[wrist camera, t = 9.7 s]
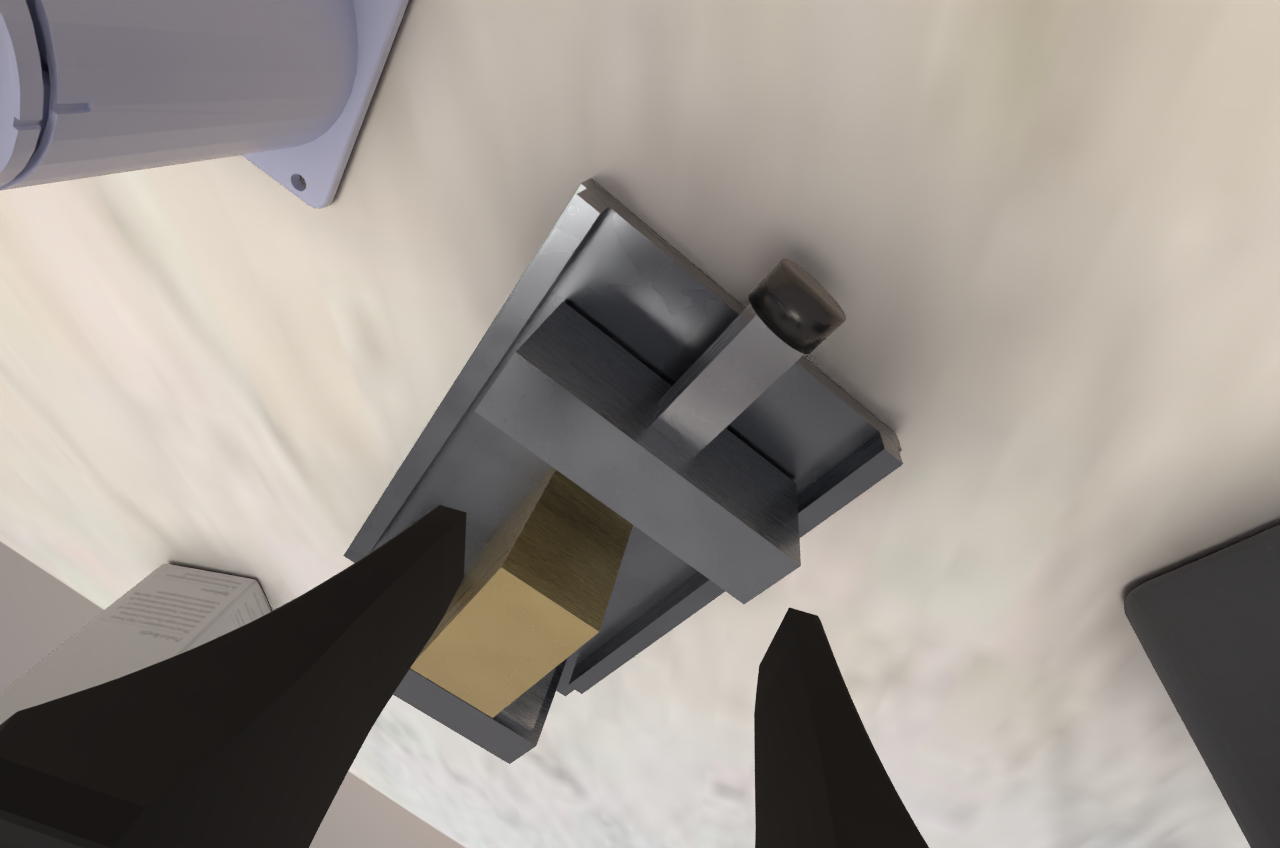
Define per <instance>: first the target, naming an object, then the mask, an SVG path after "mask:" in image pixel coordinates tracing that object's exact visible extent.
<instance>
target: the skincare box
mask: <svg viewBox="0 0 1280 848" xmlns="http://www.w3.org/2000/svg"><path fill="white" fill-rule="evenodd" d="M270 612H272V611H271V608H270V606H269V604H268V601H267V599H266V597H265V595H264V593H263V591H262V589H261V587H260V585H259V583H258V582H257V581H256V580H254V579H250V578H244V577H239V576H233V575H228V574H222V573H216V572H211V571H205V570H200V569H194V568H188V567H183V566H177V565H171V564H163V565H161V566H160V567H159V568H157V569H156V570H155V571H153V572H152V573H151V574H150V575H149V576H147V577H146V578H145V579H143V580H142V581H141V582H139V583H138V584H137V585H136V586H135V587H133V588H132V589H131V590H129V591H128V592H127V593H126V594H124V595H123V596H122V597H121V598H119V599H118V600H117V601H115V602H114V603H113V604H112V605H110V606H109V607H108V608H107V609H105V610H104V611H103V612H102V613H100V614H99V615H98V616H97V617H95V618H94V619H93V620H92V621H90V622H89V623H88V624H87V625H85V626H84V627H83V628H82V629H80V630H79V631H78V632H76V633H75V634H74V635H73V636H71V637H70V638H69V639H68V640H66V641H65V642H64V643H63V644H61V645H60V646H59V647H58V648H56V649H55V650H54V651H52V652H51V653H50V654H48V655H47V656H46V657H45V658H43V659H42V660H41V661H40V662H39V663H37V664H36V665H35V666H33V667H32V668H31V669H30V670H28V671H27V672H26V673H25V674H24V675H22V676H21V677H20V678H18V679H17V680H16V681H14V682H13V683H12V684H11V685H9V686H8V687H7V688H6V689H4V690H3V691H2V692H0V725H1V724H2V723H3V722H4V721H6V720H7V719H8V718H9V717H11V716H12V715H13V714H15V713H16V712H17V711H20V710H24V709H27V708H30V707H33V706H37V705H40V704H43V703H46V702H49V701H52V700H55V699H58V698H61V697H64V696H67V695H70V694H73V693H76V692H79V691H82V690H85V689H88V688H91V687H94V686H98V685H100V684H103V683H106V682H109V681H112V680H114V679H117V678H120V677H123V676H125V675H128V674H131V673H133V672H136V671H138V670H141V669H143V668H146V667H148V666H151V665H153V664H156V663H158V662H161V661H164V660H166V659H169V658H171V657H174V656H176V655H179V654H181V653H184V652H186V651H189V650H191V649H193V648H196V647H198V646H200V645H202V644H205V643H207V642H209V641H211V640H214V639H216V638H218V637H220V636H222V635H224V634H226V633H229V632H231V631H233V630H235V629H237V628H239V627H241V626H244V625H246V624H248V623H250V622H252V621H254V620H256V619H258V618H260V617H262V616H264V615H266V614H268V613H270Z"/></svg>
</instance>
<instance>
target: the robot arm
mask: <svg viewBox="0 0 1280 848" xmlns="http://www.w3.org/2000/svg"><path fill="white" fill-rule="evenodd" d="M408 2H409V0H0V190H6V189H13V188H19V187H26V186H33V185H40V184H47V183H53V182H60V181H67V180H74V179H81V178H87V177H94V176H101V175H108V174H115V173H121V172H128V171H135V170H142V169H149V168H155V167H162V166H169V165H176V164H183V163H189V162H196V161H203V160H210V159H217V158H223V157H230V156H237V155H242V156H244V157H245V158H246V159H248V160H249V161H250V162H252V163H253V164H254V165H256V166H257V167H258V168H260V169H261V170H262V171H264V172H265V173H266V174H268V175H269V176H270V177H272V178H273V179H274V180H276V181H277V182H278V183H280V184H281V185H282V186H284V187H285V188H286V189H288V190H289V191H290V192H292V193H293V194H294V195H296V196H297V197H298V198H300V199H301V200H303V201H304V202H305V203H307V204H308V205H309V206H311V207H313V208H319V209H320V208H323V207H326V206H329V205H330V204H331V203H332V201H333V199H334V196H335V194H336V191H337V188H338V186H339V183H340V180H341V178H342V175H343V173H344V170H345V167H346V165H347V162H348V159H349V157H350V154H351V152H352V149H353V146H354V144H355V141H356V138H357V136H358V133H359V131H360V128H361V125H362V123H363V120H364V117H365V115H366V112H367V110H368V107H369V104H370V102H371V99H372V96H373V94H374V91H375V89H376V86H377V83H378V81H379V78H380V75H381V73H382V70H383V68H384V65H385V62H386V60H387V57H388V54H389V52H390V49H391V47H392V44H393V41H394V39H395V36H396V33H397V31H398V28H399V26H400V23H401V20H402V18H403V15H404V12H405V10H406V7H407V4H408ZM300 175H301V176H302V177H303V178H304V180H305V182H306V188H305V187H304V186H303V185H302V184H301V182H300V179H299V177H300ZM466 514H467V513H466V512H463V511H459V510H456V509H453V508H449V507H446V506H442V505H439V506H437V507H435V508H434V509H433V510H431V511H430V512H428V513H427V514H426V515H424V516H423V517H421V518H420V519H419V520H417V521H416V522H414V523H413V524H412V525H410V526H409V527H407V528H406V529H405V530H403V531H402V532H400V533H399V534H398V535H396V536H395V537H393V538H392V539H390V540H389V541H387V542H386V543H385V544H383V545H382V546H380V547H379V548H377V549H376V550H374V551H373V552H371V553H369V554H368V555H366V556H365V557H363V558H362V559H360V560H359V561H357V562H356V563H354V564H353V565H351V566H350V567H348V568H347V569H345V570H343V571H342V572H340V573H338V574H337V575H335V576H333V577H332V578H330V579H328V580H327V581H325V582H323V583H322V584H320V585H318V586H317V587H315V588H313V589H312V590H310V591H308V592H307V593H305V594H303V595H301V596H299V597H298V598H296V599H294V600H292V601H290V602H289V603H287V604H285V605H283V606H281V607H279V608H277V609H275V610H274V611H272V612H270V613H268V614H266V615H264V616H262V617H260V618H258V619H256V620H254V621H252V622H250V623H248V624H246V625H244V626H241V627H239V628H237V629H235V630H233V631H231V632H229V633H226V634H224V635H222V636H220V637H218V638H216V639H214V640H211V641H209V642H207V643H205V644H202V645H200V646H198V647H196V648H193V649H191V650H189V651H186V652H184V653H181V654H179V655H176V656H174V657H171V658H169V659H166V660H164V661H161V662H158V663H156V664H153V665H151V666H148V667H146V668H143V669H141V670H138V671H136V672H133V673H131V674H128V675H125V676H123V677H120V678H117V679H114V680H112V681H109V682H106V683H103V684H100V685H98V686H94V687H91V688H88V689H85V690H82V691H79V692H76V693H73V694H70V695H67V696H64V697H61V698H58V699H55V700H52V701H49V702H46V703H43V704H40V705H37V706H33V707H30V708H27V709H24V710H20V711H17V712H16V713H15V714H13V715H12V716H11V717H9V718H8V719H7V720H6V721H4V722H3V723H2V724H1V725H0V848H309V846H310V844H311V842H312V840H313V838H314V836H315V834H316V832H317V830H318V828H319V826H320V824H321V822H322V820H323V818H324V816H325V814H326V812H327V810H328V809H329V807H330V805H331V803H332V800H333V799H334V797H335V795H336V793H337V791H338V789H339V787H340V785H341V784H342V781H343V780H344V778H345V776H346V774H347V772H348V770H349V768H350V767H351V765H352V763H353V761H354V759H355V757H356V755H357V754H358V752H359V750H360V748H361V746H362V744H363V742H364V741H365V739H366V737H367V735H368V733H369V731H370V730H371V728H372V726H373V725H374V723H375V721H376V720H377V718H378V717H379V715H380V713H381V712H382V710H383V708H384V707H385V705H386V704H387V702H388V701H389V699H390V698H391V696H392V695H393V693H394V692H395V690H396V689H397V687H398V686H399V684H400V683H401V681H402V680H403V678H404V677H405V675H406V674H407V672H408V671H409V669H410V668H411V666H412V665H413V663H414V662H415V660H416V659H417V657H418V656H419V654H420V653H421V651H422V650H423V648H424V646H425V645H426V643H427V642H428V640H429V639H430V637H431V636H432V634H433V633H434V631H435V630H436V628H437V627H438V625H439V623H440V622H441V620H442V619H443V617H444V615H445V613H446V611H447V609H448V607H449V605H450V603H451V602H452V600H453V598H454V596H455V593H456V591H457V589H458V587H459V585H460V583H461V581H462V579H463V577H464V562H465V538H466ZM754 717H755V807H756V841H755V848H929V847H928V845H927V844H926V842H925V840H924V839H923V837H922V835H921V834H920V832H919V830H918V829H917V827H916V825H915V823H914V822H913V820H912V818H911V816H910V815H909V813H908V811H907V810H906V808H905V806H904V804H903V802H902V801H901V799H900V797H899V795H898V793H897V792H896V790H895V788H894V786H893V784H892V782H891V780H890V778H889V776H888V775H887V773H886V771H885V769H884V767H883V765H882V763H881V761H880V759H879V757H878V755H877V753H876V751H875V749H874V747H873V745H872V743H871V740H870V738H869V736H868V734H867V732H866V730H865V728H864V725H863V723H862V721H861V719H860V717H859V714H858V712H857V710H856V708H855V705H854V703H853V701H852V699H851V696H850V694H849V692H848V689H847V687H846V685H845V682H844V680H843V677H842V675H841V672H840V670H839V667H838V665H837V663H836V660H835V657H834V655H833V652H832V650H831V647H830V644H829V642H828V639H827V637H826V634H825V631H824V629H823V626H822V623H821V621H820V619H819V617H818V616H816V615H813V614H810V613H806V612H803V611H799V610H796V609H793V608H789V609H788V611H787V613H786V615H785V617H784V619H783V621H782V623H781V625H780V627H779V629H778V630H777V632H776V634H775V636H774V638H773V640H772V642H771V644H770V646H769V648H768V650H767V652H766V654H765V656H764V658H763V660H762V662H761V663H760V665H759V674H758V683H757V692H756V703H755V714H754Z"/></svg>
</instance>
